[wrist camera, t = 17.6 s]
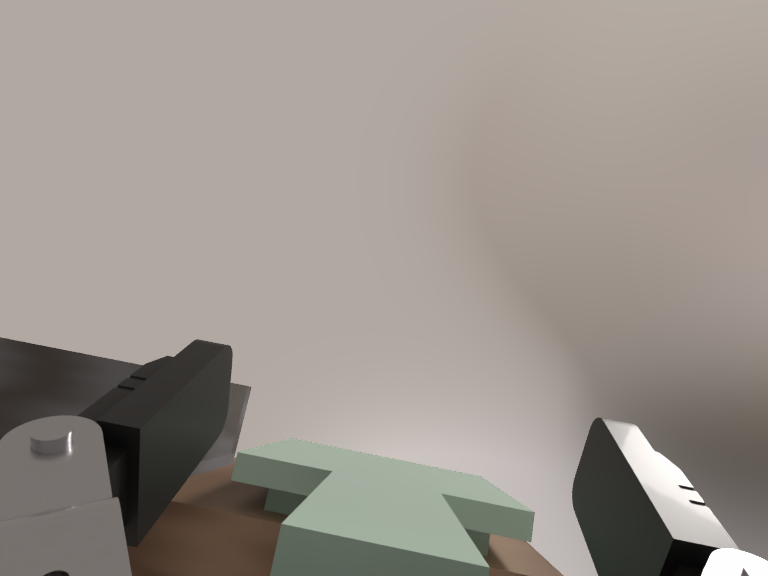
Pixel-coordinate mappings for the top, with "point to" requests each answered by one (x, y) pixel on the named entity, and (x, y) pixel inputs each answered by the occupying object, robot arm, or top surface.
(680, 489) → the robot arm
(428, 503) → the green t-shaped block
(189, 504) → the cabinet
